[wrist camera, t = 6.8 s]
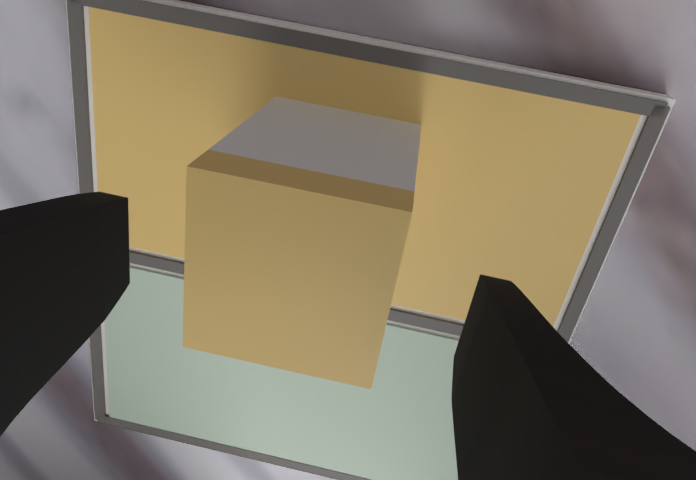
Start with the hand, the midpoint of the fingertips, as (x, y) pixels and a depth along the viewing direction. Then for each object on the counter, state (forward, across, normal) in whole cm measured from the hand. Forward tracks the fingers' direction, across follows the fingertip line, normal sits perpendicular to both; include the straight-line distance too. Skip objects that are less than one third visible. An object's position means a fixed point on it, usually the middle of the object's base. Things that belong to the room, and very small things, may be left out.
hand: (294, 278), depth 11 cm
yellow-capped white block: (+5, 0, 0) cm, 5 cm away
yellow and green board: (+6, 0, +4) cm, 7 cm away
